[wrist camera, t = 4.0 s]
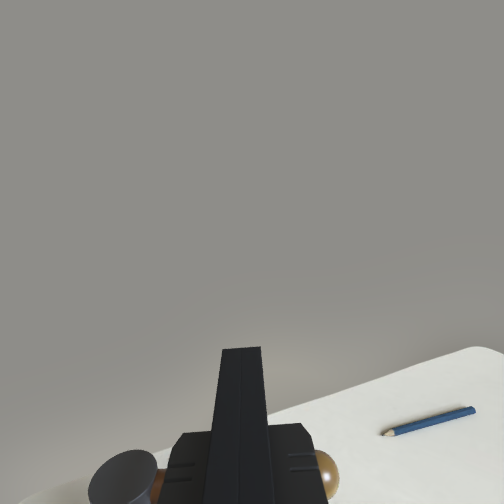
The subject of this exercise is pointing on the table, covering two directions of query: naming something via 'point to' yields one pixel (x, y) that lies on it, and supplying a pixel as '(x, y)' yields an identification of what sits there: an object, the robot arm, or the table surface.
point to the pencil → (430, 421)
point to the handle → (162, 478)
